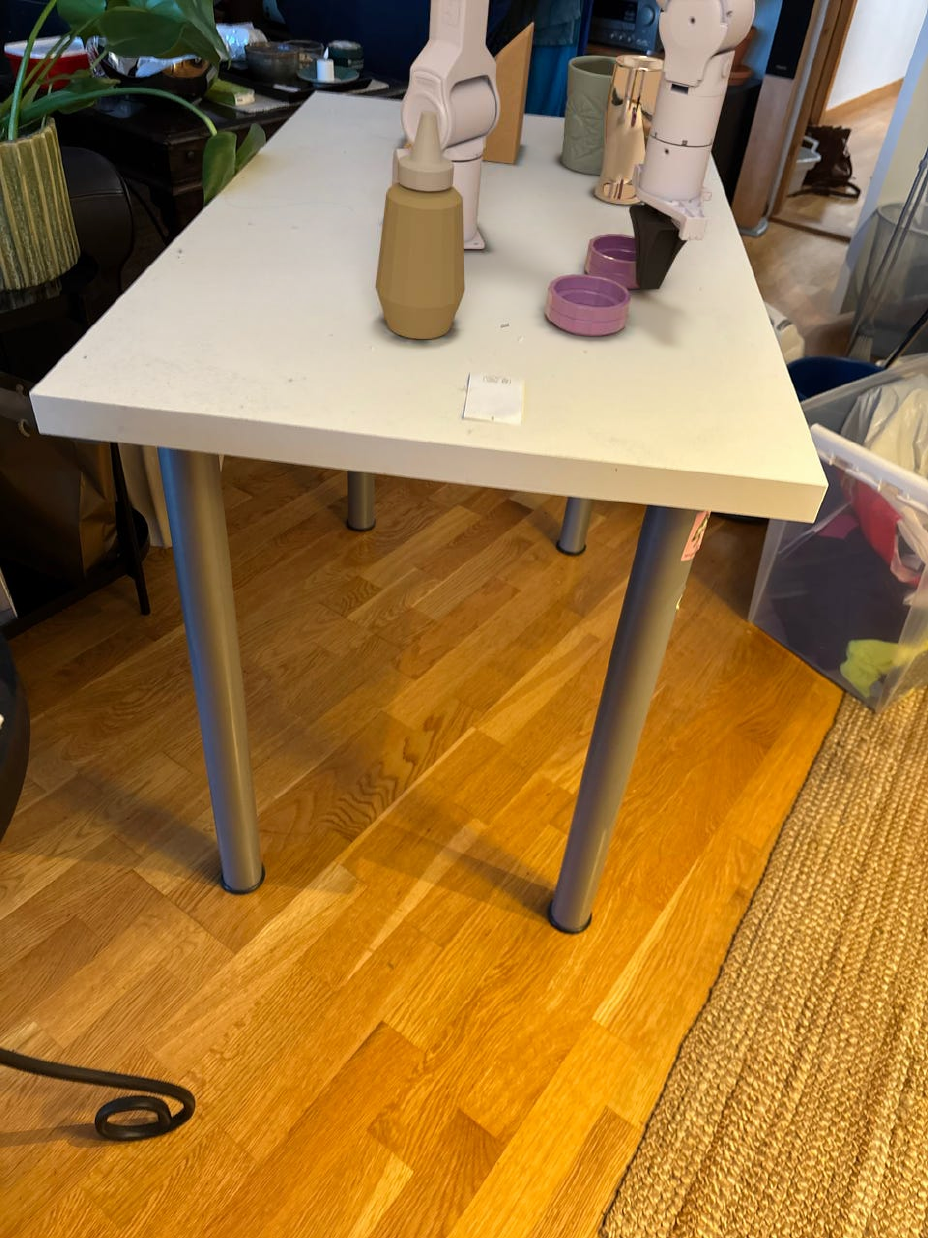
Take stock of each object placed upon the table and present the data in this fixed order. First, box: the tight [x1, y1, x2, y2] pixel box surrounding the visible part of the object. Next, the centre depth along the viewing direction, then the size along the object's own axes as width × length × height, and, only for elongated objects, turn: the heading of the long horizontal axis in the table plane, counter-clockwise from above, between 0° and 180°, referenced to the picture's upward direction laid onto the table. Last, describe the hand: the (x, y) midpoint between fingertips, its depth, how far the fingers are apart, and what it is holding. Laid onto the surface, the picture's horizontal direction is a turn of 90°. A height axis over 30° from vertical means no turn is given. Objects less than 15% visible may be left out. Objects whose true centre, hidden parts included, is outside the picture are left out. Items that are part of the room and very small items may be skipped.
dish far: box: [584, 233, 640, 290], centre depth 96 cm, size 8×8×3 cm
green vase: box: [561, 55, 617, 176], centre depth 120 cm, size 10×10×12 cm
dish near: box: [544, 273, 632, 337], centre depth 87 cm, size 8×8×3 cm
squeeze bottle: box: [374, 111, 466, 340], centre depth 78 cm, size 8×8×18 cm
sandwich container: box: [402, 21, 535, 165], centre depth 120 cm, size 9×15×15 cm, turn 81°
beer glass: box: [594, 54, 664, 206], centre depth 111 cm, size 7×7×15 cm
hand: (647, 286), depth 90 cm, fingers closed
